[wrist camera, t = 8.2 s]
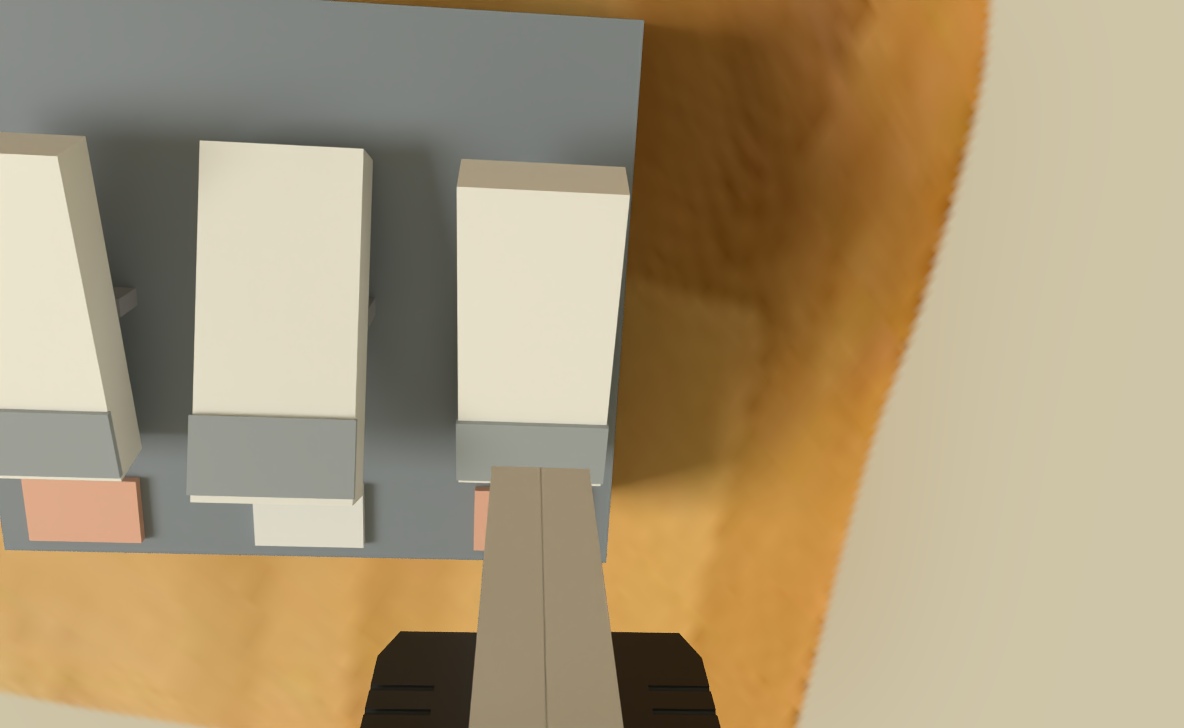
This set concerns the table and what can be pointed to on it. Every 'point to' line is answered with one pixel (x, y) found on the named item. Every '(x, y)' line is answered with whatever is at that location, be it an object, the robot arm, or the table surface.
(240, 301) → the switch
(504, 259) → the switch
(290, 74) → the switch unit
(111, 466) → the switch
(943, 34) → the table surface
